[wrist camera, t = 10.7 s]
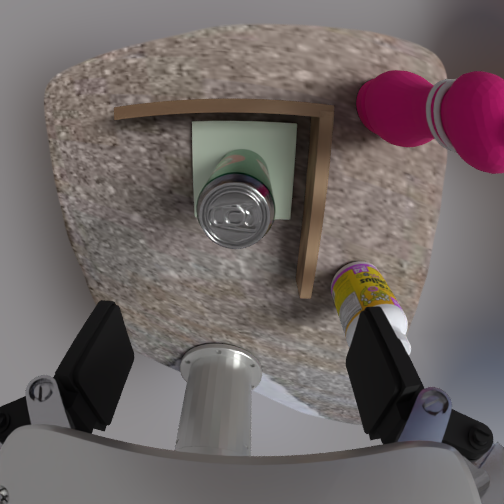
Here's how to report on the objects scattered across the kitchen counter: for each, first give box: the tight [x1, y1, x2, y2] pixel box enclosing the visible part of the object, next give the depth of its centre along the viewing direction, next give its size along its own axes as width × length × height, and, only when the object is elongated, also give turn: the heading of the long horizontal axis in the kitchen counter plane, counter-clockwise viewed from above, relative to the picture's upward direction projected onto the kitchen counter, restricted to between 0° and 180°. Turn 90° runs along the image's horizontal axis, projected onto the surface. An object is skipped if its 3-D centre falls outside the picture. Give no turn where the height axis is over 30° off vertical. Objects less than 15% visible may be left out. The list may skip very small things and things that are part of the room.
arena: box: [114, 99, 334, 298], centre depth 28 cm, size 20×19×4 cm
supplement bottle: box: [331, 261, 411, 355], centre depth 29 cm, size 7×7×13 cm
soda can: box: [196, 149, 276, 249], centre depth 23 cm, size 5×5×12 cm
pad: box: [192, 121, 297, 220], centre depth 28 cm, size 10×10×1 cm
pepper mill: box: [356, 70, 504, 174], centre depth 16 cm, size 7×7×20 cm
